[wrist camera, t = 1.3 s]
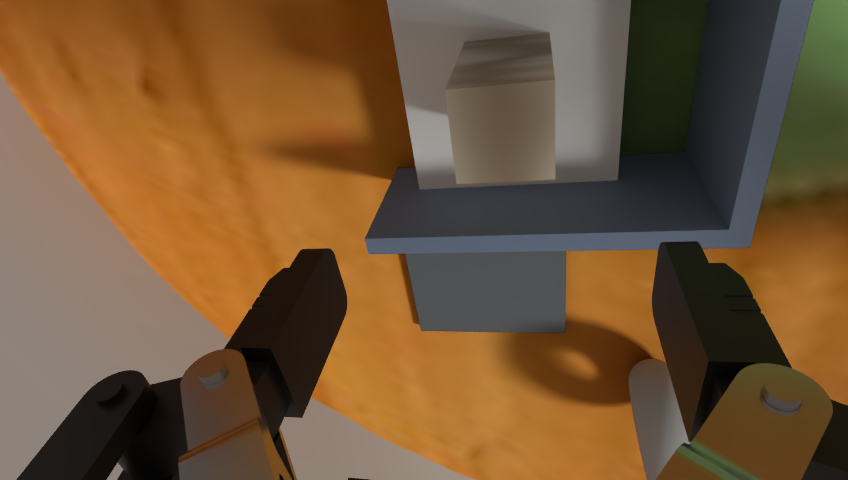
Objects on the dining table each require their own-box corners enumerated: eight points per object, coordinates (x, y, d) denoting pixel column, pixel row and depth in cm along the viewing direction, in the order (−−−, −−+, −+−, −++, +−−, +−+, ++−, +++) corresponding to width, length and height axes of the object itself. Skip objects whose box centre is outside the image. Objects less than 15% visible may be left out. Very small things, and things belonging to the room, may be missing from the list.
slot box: (753, -133, 21) (849, -138, 15) (701, 166, 29) (749, 247, 23) (352, -65, 25) (291, -46, 19) (400, 181, 33) (368, 254, 27)
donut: (615, 333, 37) (638, 457, 29) (666, 326, 36) (704, 453, 28) (637, 416, 42) (662, 542, 34) (682, 413, 41) (718, 542, 33)
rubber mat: (566, 201, 32) (566, 206, 31) (564, 327, 38) (565, 333, 37) (398, 208, 34) (396, 212, 34) (422, 325, 40) (421, 330, 40)
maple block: (549, 32, 24) (555, 79, 18) (550, 114, 26) (555, 179, 20) (464, 42, 24) (444, 89, 19) (472, 120, 27) (456, 184, 21)
